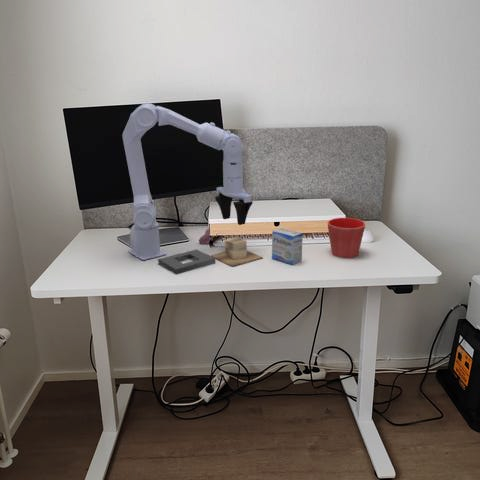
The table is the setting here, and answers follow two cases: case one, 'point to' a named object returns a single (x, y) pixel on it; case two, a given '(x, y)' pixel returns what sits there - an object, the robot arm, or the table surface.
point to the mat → (237, 262)
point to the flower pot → (345, 236)
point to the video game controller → (205, 237)
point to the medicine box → (287, 246)
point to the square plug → (235, 248)
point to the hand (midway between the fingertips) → (233, 221)
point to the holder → (178, 267)
